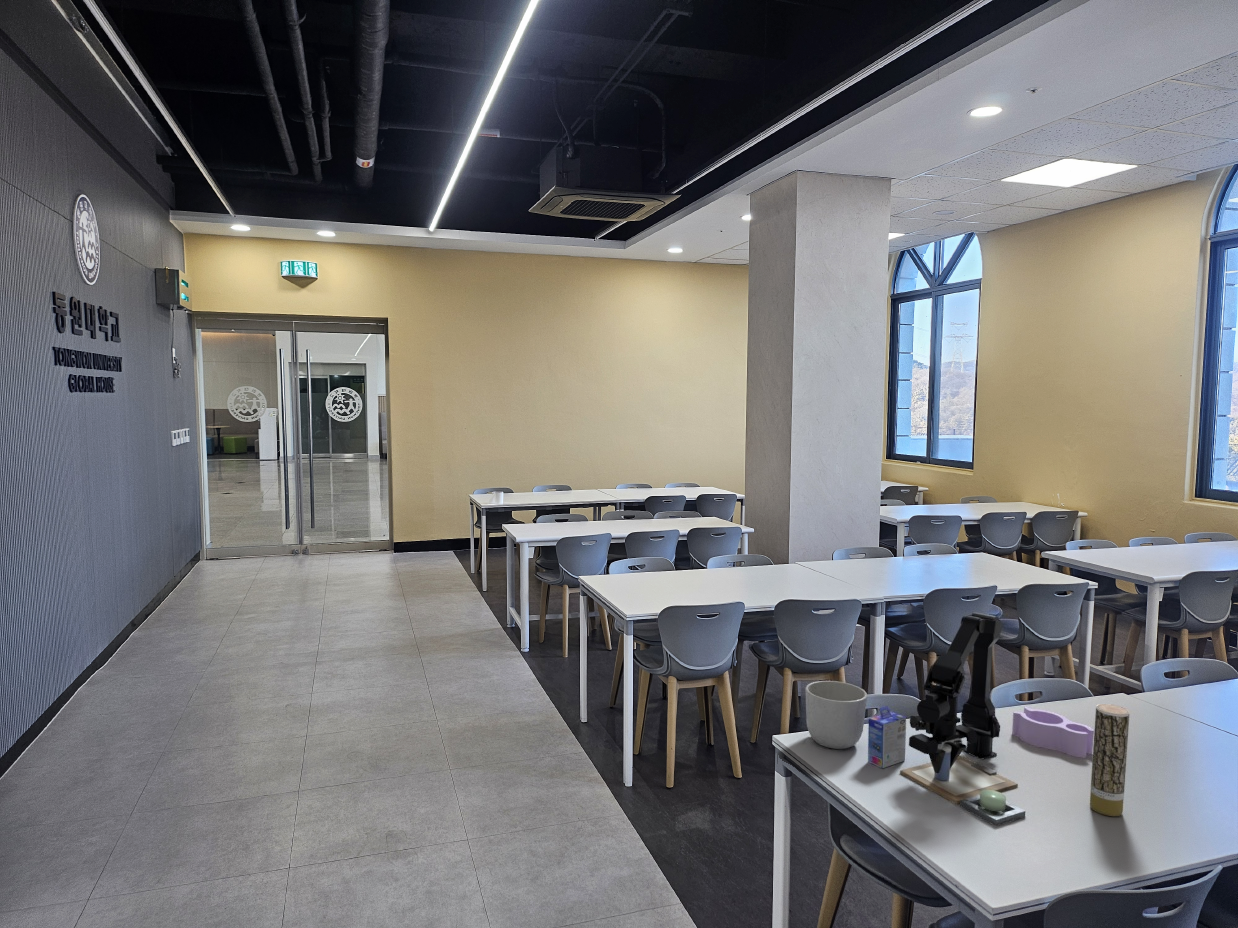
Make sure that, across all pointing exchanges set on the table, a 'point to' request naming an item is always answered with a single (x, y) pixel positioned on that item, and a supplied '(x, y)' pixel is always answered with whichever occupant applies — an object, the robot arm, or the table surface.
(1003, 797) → the button
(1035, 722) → the clip
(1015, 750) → the table surface
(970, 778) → the clipboard
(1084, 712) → the table surface
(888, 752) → the ink cartridge box
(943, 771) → the blue cylinder
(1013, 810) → the button bezel
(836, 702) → the planter
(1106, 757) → the paper tube
